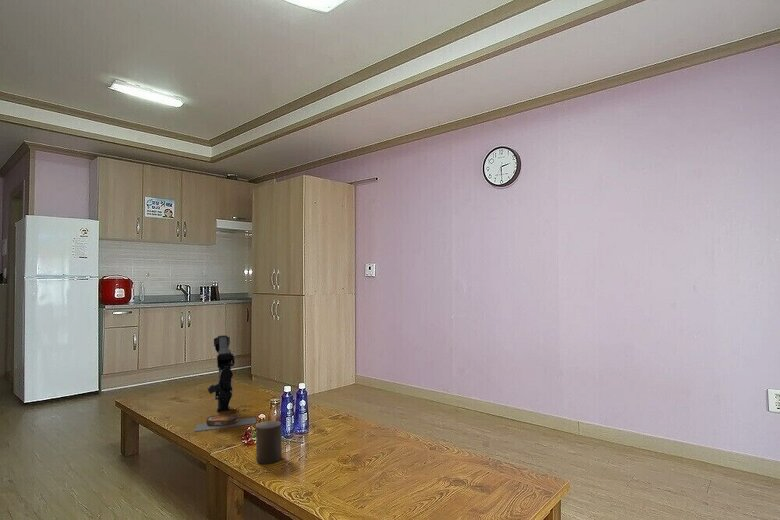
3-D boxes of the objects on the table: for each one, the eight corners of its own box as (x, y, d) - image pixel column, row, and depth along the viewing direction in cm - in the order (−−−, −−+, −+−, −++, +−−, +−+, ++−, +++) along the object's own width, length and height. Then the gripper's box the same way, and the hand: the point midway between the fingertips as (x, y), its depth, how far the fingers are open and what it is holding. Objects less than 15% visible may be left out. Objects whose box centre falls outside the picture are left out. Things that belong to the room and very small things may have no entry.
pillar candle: (272, 465, 172) (271, 425, 173) (251, 462, 175) (250, 423, 176) (286, 456, 181) (286, 418, 182) (266, 453, 184) (265, 416, 185)
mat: (196, 425, 223) (196, 424, 223) (255, 417, 233) (255, 417, 233) (194, 431, 214) (194, 431, 214) (256, 423, 223) (256, 422, 223)
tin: (239, 414, 229) (232, 419, 220) (239, 421, 228) (232, 425, 220) (211, 415, 230) (203, 419, 222) (211, 421, 230) (202, 425, 221)
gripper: (209, 375, 235) (210, 405, 235) (207, 382, 218) (208, 415, 217) (231, 373, 239) (232, 402, 238) (231, 380, 222) (232, 412, 221)
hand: (226, 408), depth 229 cm, fingers closed
